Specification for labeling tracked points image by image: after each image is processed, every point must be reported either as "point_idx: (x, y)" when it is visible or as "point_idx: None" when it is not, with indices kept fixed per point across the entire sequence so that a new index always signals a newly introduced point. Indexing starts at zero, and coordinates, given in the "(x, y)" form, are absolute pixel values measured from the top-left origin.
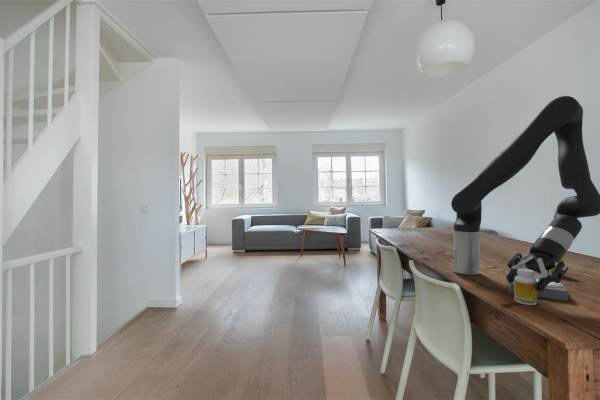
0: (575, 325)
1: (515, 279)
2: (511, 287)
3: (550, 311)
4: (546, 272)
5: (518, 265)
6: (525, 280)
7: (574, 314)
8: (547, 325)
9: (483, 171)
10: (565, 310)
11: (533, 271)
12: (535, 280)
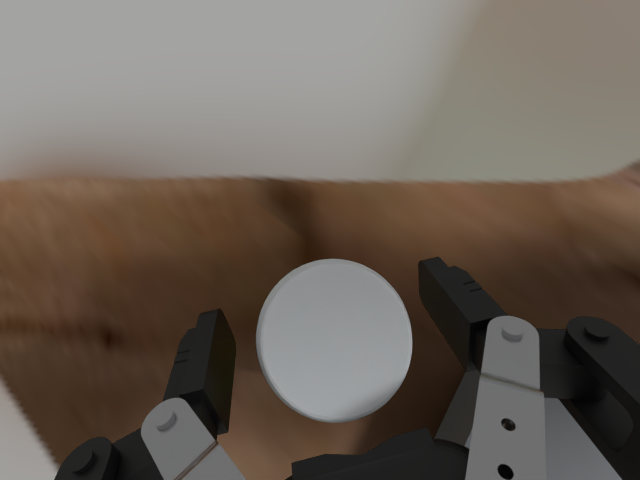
0: (55, 340)
1: (348, 260)
2: None
3: None
4: (161, 470)
5: (508, 380)
6: (277, 288)
7: None
8: (82, 223)
9: None
10: None
11: (276, 386)
12: (264, 372)
